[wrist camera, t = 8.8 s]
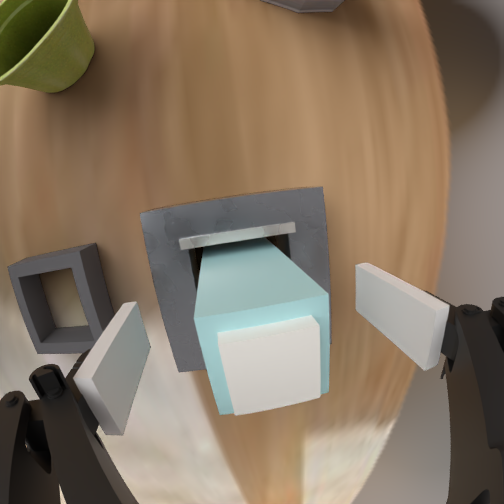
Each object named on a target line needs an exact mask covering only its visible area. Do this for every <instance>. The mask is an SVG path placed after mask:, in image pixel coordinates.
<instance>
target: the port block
mask: <svg viewBox="0 0 504 504" xmlns="http://www.w3.org/2000/svg"><path fill="white" fill-rule="evenodd" d="M140 217H141V223H142V229H143V234H144V240H145V245H146V250H147V255H148V259H149V264H150V269H151V273H152V278H153V282H154V286H155V290H156V294H157V298H158V302H159V306H160V310H161V314H162V318H163V321H164V325H165V329H166V332H167V336H168V339H169V342H170V346H171V349H172V352H173V355H174V359H175V362H176V365H177V368H178V371H179V372H187V371H195V370H203V369H206V365H205V361H204V358H203V354H202V350H201V346H200V342H199V338H198V334H197V330H196V325H195V321H194V312H195V305H196V297H197V289H198V282H199V270H198V265H197V259H196V254H195V248H197V247H203V246H209V245H215V244H222V243H228V242H234V241H241V240H247V239H254V238H260V237H267V236H274V235H275V236H276V245H277V248H278V249H279V250H280V251H281V252H282V253H283V254H285V255H286V256H287V257H288V258H289V259H290V260H291V261H292V262H294V263H295V264H296V265H297V266H298V267H299V268H300V269H301V270H303V271H304V272H305V273H306V274H307V275H308V276H309V277H310V278H311V279H313V280H314V281H315V282H316V283H317V284H318V285H319V286H320V287H321V288H323V289H324V290H325V291H326V292H327V293H328V294H329V336H330V344H331V292H330V269H329V252H328V238H327V225H326V214H325V203H324V194H323V187H299V188H290V189H281V190H273V191H265V192H257V193H249V194H242V195H235V196H228V197H221V198H214V199H208V200H202V201H196V202H190V203H184V204H178V205H172V206H167V207H161V208H156V209H152V210H148V211H145V212H142V213H140Z"/></svg>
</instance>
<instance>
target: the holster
mask: <svg viewBox="0 0 504 504" xmlns="http://www.w3.org/2000/svg"><path fill="white" fill-rule="evenodd" d="M66 268H72V272H73V276H74V279H75V283H76V287H77V290H78V293H79V297H80V300H81V303H82V307H83V310H84V313H85V316H86V319H87V322H88V324H89V325H88V326H76V327H63V328H56V327H55V324H54V321H53V319H52V316H51V313H50V310H49V307H48V304H47V301H46V298H45V295H44V291H43V288H42V285H41V281H40V278H39V273H44V272H50V271H55V270H61V269H66ZM8 271H9V275H10V279H11V282H12V286H13V289H14V292H15V296H16V299H17V302H18V305H19V308H20V311H21V314H22V316H23V319H24V322H25V324H26V327H27V330H28V332H29V335H30V337H31V339H32V342H33V344H34V346H35V349H36V351H37V353H38V354H70V353H84V352H86V351H87V350H88V349H92V348H93V346H94V345H95V343H96V342H97V341H98V339H99V338H100V336H101V335H102V333H103V332H104V330H105V329H106V327H107V326H108V325H109V323H110V322H111V320H112V319H113V317H114V316H115V315H114V312H113V308H112V305H111V302H110V298H109V295H108V291H107V288H106V284H105V280H104V276H103V272H102V268H101V264H100V260H99V255H98V251H97V246H96V243H93V244H88V245H83V246H78V247H74V248H69V249H64V250H60V251H55V252H50V253H46V254H42V255H37V256H33V257H28V258H25V259H23V260H21V261H19V262H16V263H14V264H12V265H10V266H8Z"/></svg>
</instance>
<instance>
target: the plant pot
mask: <svg viewBox="0 0 504 504" xmlns="http://www.w3.org/2000/svg"><path fill="white" fill-rule="evenodd" d="M94 49H95V48H94V42H93V39H92V37H91V35H90V33H89V30H88V28H87V26H86V24H85V21H84V19H83V16H82V14H81V11H80V9H79V6H78V0H4V1H3V2H2V3H1V4H0V85H5V84H8V85H14V86H20V87H25V88H30V89H34V90H38V91H42V92H46V93H53V92H59V91H62V90H64V89H66V88H68V87H70V86H71V85H72V84H74V83H75V82H76V81H77V80H78V79H79V78H80V77H81V76H82V75H83V74H84V73H85V71H86V70H87V67H88V65H89V62H90V60H91V58H92V56H93V54H94Z"/></svg>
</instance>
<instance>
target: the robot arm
mask: <svg viewBox="0 0 504 504" xmlns="http://www.w3.org/2000/svg"><path fill="white" fill-rule="evenodd" d="M355 267H356V311H357V312H358V313H360V314H361V315H362V316H363V317H364V318H365V319H367V320H368V321H369V322H370V323H371V324H372V325H373V326H375V327H376V328H377V329H378V330H379V331H380V332H381V333H383V334H384V335H385V336H386V337H387V338H388V339H389V340H391V341H392V342H393V343H394V344H395V345H396V346H397V347H399V348H400V349H401V350H402V351H403V352H404V353H405V354H406V355H408V356H409V357H410V358H411V359H412V360H413V361H414V362H415V363H416V364H418V365H419V366H420V367H421V368H422V369H423V370H424V371H426V370H428V369H430V368H432V367H434V366H436V365H438V362H439V358H440V353H443V354H444V355H445V356H446V359H445V363H444V367H443V370H442V374H441V379H443V376H444V374H446V379H447V389H448V399H449V411H450V432H451V465H450V482H449V494H448V499H447V502H446V504H504V297H500V298H495V299H494V300H493V302H492V307H491V310H488V311H483V310H482V309H481V308H479V307H477V306H475V305H469V304H465V305H460V306H458V307H455V306H453V305H451V304H450V303H448V302H446V301H444V300H442V299H440V298H438V297H437V296H434V295H433V294H431V293H429V292H427V291H423V290H420V289H418V288H416V287H415V286H413V285H411V284H409V283H407V282H405V281H403V280H401V279H399V278H397V277H395V276H393V275H391V274H389V273H387V272H385V271H383V270H381V269H379V268H377V267H375V266H374V265H371V264H369V263H367V262H366V263H361V264H357V265H355ZM150 348H151V346H150V343H149V340H148V337H147V334H146V331H145V328H144V324H143V321H142V318H141V314H140V311H139V307H138V304H137V301H136V302H128V303H123V305H122V306H121V308H120V309H119V310H118V312H117V313H116V315H115V316H114V317H113V319H112V320H111V322H110V323H109V325H108V326H107V327H106V329H105V330H104V332H103V333H102V335H101V336H100V338H99V339H98V341H97V342H96V343H95V345H94V346H93V348H92V349H88V350H87V351H86V352H84V353H83V354H82V355H81V356H80V357H79V359H78V360H77V362H76V363H75V364H74V366H73V369H71V370H70V372H69V373H68V375H67V377H66V378H64V376H63V374H62V372H61V370H60V368H59V366H58V365H55V364H48V365H44V366H41V367H39V368H37V369H36V370H35V371H33V372H32V374H31V375H30V377H29V381H30V382H31V384H32V386H33V388H34V390H35V391H36V393H37V395H38V397H39V398H40V399H39V400H32V401H28V400H27V399H26V397H25V395H24V394H23V392H21V391H13V392H9V393H8V394H5V396H4V397H3V398H2V399H1V400H0V504H61V502H60V490H59V484H60V487H61V490H62V493H63V496H64V498H65V501H66V503H67V504H139V503H138V502H137V500H136V499H135V497H134V496H133V494H132V493H131V491H130V490H129V488H128V487H127V485H126V484H125V482H124V480H123V479H122V477H121V475H120V474H119V472H118V470H117V469H116V467H115V465H114V463H113V461H112V460H111V458H110V456H109V454H108V452H107V450H106V448H105V446H104V444H103V442H102V440H101V438H100V437H99V435H98V434H97V432H96V431H97V428H98V426H99V425H100V427H101V428H102V430H103V431H104V433H105V434H106V435H123V434H124V431H125V427H126V424H127V420H128V417H129V413H130V410H131V407H132V403H133V400H134V397H135V393H136V390H137V387H138V384H139V381H140V378H141V375H142V371H143V368H144V365H145V362H146V359H147V356H148V353H149V351H150ZM25 444H26V445H27V448H26V445H25Z"/></svg>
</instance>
